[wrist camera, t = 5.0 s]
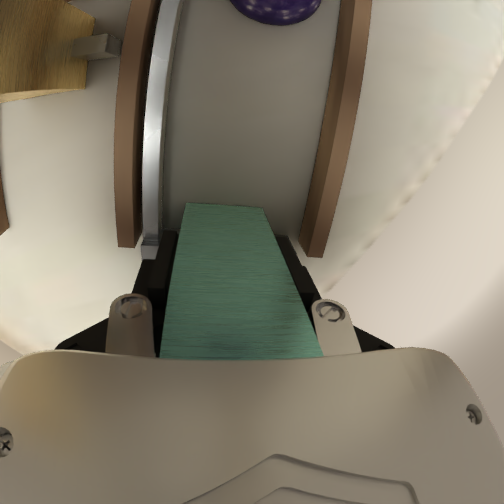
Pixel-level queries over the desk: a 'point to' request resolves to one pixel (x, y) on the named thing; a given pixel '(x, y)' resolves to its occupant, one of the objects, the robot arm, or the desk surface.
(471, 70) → the desk surface
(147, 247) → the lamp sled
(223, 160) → the desk surface
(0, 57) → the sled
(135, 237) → the lane rails
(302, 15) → the toy lamp
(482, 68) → the desk surface
